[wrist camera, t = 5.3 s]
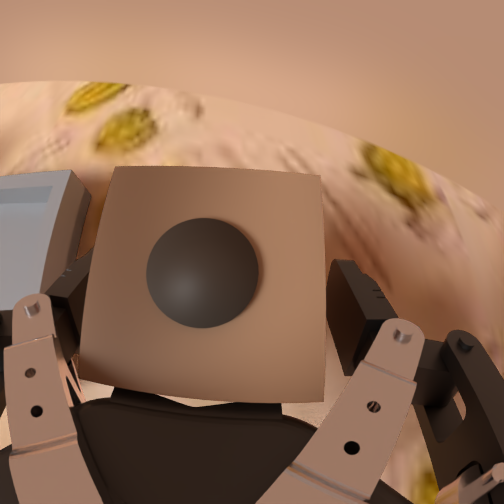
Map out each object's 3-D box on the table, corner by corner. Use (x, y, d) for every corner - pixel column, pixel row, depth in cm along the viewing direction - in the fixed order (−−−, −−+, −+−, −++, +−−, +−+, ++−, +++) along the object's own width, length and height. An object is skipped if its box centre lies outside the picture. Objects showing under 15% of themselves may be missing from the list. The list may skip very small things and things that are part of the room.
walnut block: (270, 282, 16) (324, 169, 6) (267, 371, 14) (328, 405, 5) (182, 276, 15) (111, 161, 6) (175, 364, 14) (72, 380, 4)
